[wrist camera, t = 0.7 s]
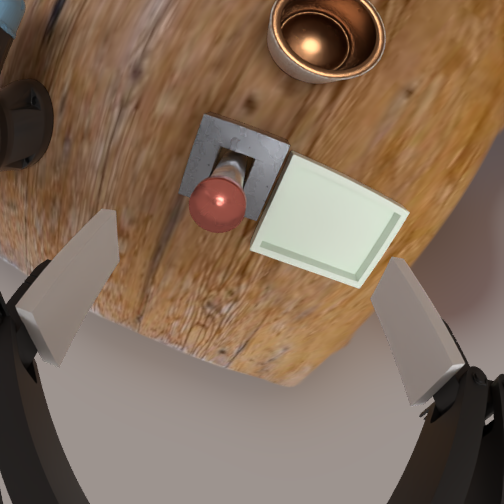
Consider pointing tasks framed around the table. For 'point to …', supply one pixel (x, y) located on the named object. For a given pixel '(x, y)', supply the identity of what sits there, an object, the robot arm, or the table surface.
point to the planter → (325, 38)
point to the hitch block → (242, 141)
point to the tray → (326, 222)
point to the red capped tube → (221, 195)
